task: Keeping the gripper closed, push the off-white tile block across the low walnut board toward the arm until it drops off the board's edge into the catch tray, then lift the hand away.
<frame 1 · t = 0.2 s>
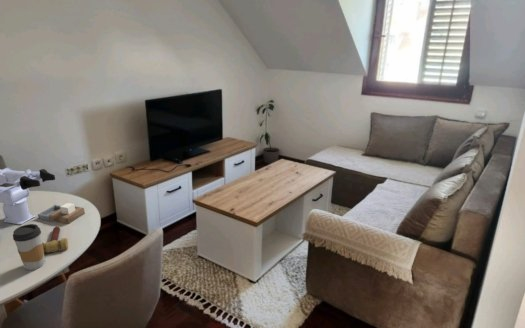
hand: (46, 180, 145), 22 cm above the table, tool horizontal, fingers open, 7 cm apart
tile block: (68, 211, 158), point 3 cm above the table, touching board
catch tray: (53, 214, 161), on the table
coffee cup: (35, 265, 126), on the table
gavel: (55, 241, 142), on the table
board: (68, 217, 159), on the table
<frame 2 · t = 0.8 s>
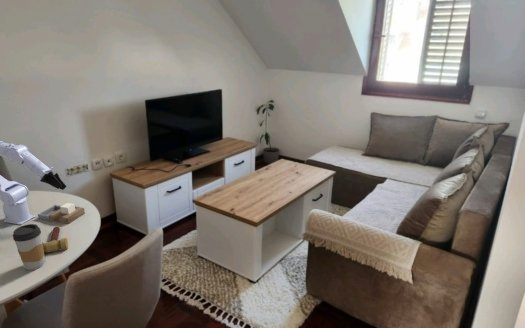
hand: (62, 187, 148), 17 cm above the table, tool tilted 50°, fingers open, 7 cm apart
nothing on the table moved.
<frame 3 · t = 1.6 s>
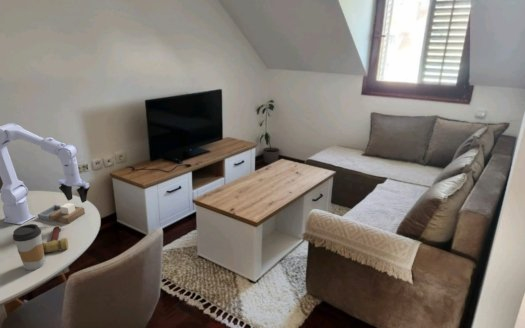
hand: (77, 200, 154), 9 cm above the table, tool pointing down, fingers open, 7 cm apart
nothing on the table moved.
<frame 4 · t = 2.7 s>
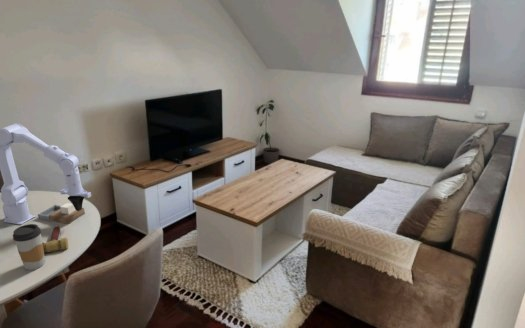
hand: (79, 209, 156), 5 cm above the table, tool pointing down, fingers closed
nothing on the table moved.
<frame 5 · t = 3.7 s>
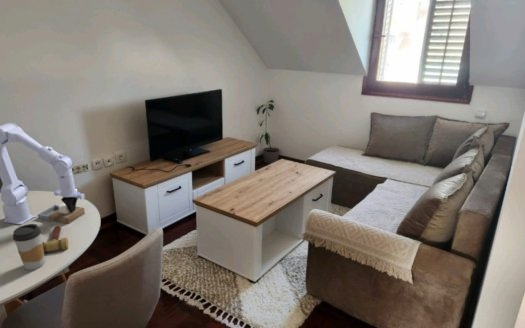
hand: (72, 211, 157), 4 cm above the table, tool pointing down, fingers closed
tile block: (66, 211, 158), point 3 cm above the table, touching gripper
everything else where it was.
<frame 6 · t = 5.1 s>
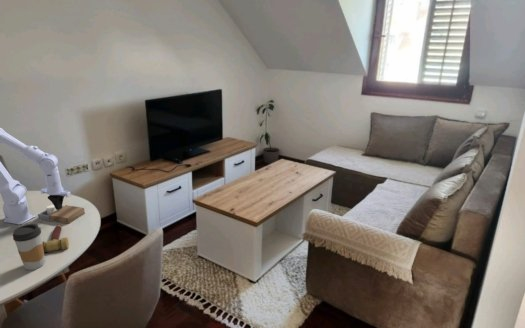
hand: (59, 208, 159), 4 cm above the table, tool pointing down, fingers closed
tile block: (56, 210, 160), point 2 cm above the table, tilted 90°, touching catch tray
everything else where it was.
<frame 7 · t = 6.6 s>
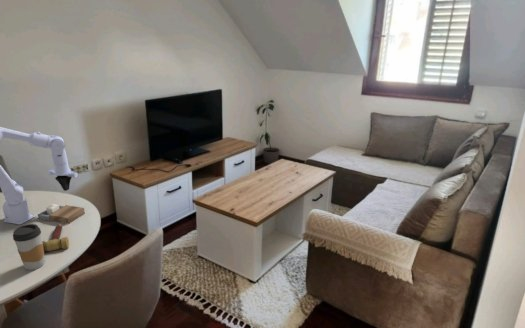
hand: (66, 189, 163), 10 cm above the table, tool pointing down, fingers closed
nothing on the table moved.
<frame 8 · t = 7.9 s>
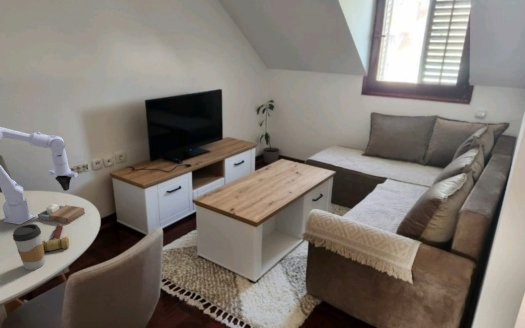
hand: (66, 189, 163), 10 cm above the table, tool pointing down, fingers closed
at the end: tile block inside the target area (1.9 cm from its centre), point 2.4 cm above the table; tile block moved 7.3 cm from its start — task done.
